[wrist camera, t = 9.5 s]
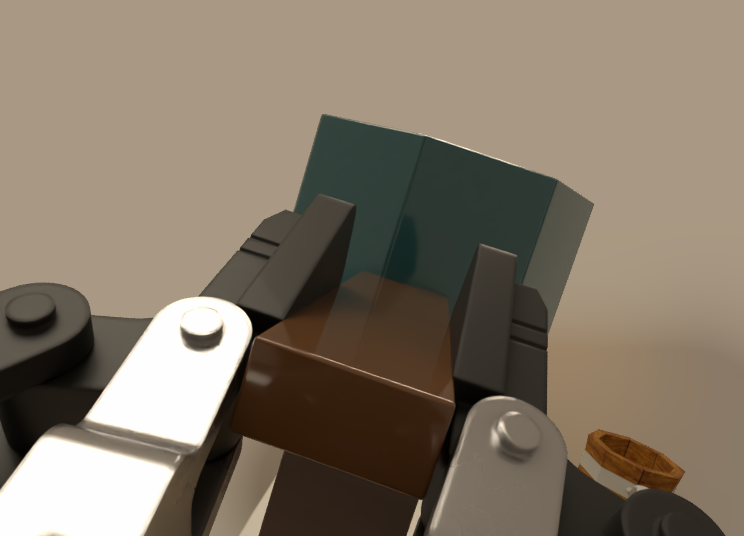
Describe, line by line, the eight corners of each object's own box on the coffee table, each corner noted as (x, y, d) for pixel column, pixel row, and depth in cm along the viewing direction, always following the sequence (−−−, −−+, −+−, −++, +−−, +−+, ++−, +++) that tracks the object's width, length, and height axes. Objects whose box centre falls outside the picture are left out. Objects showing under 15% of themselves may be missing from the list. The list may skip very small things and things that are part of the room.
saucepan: (358, 533, 5) (531, 7, 5) (-51, 214, 12) (-1, -15, 12) (656, 383, 19) (711, 241, 18) (379, 271, 26) (412, 165, 25)
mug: (553, 504, 91) (584, 420, 89) (639, 541, 88) (674, 454, 86) (557, 571, 72) (597, 466, 70) (667, 622, 69) (712, 512, 67)
